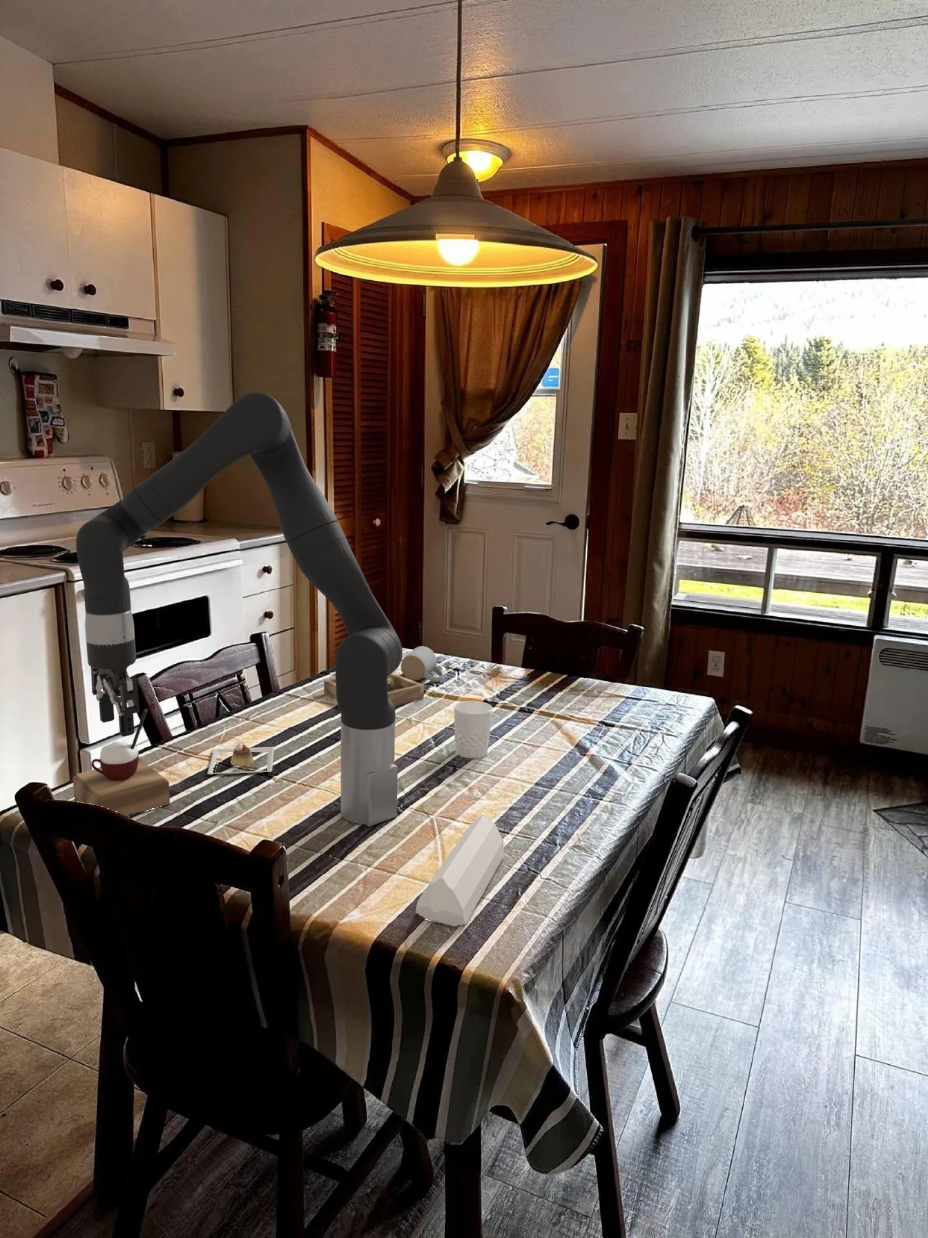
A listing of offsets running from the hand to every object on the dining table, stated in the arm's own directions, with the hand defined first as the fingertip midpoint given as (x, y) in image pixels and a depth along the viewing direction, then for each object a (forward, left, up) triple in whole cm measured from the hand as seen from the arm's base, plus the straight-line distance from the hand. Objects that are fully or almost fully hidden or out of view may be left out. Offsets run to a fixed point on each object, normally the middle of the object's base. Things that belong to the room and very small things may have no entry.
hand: (117, 728), depth 144 cm
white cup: (-22, -64, -14) cm, 69 cm away
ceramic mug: (+22, -88, -14) cm, 92 cm away
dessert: (+3, -25, -15) cm, 29 cm away
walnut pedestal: (0, 0, -14) cm, 14 cm away
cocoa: (0, 0, -9) cm, 9 cm away
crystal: (-57, -28, -15) cm, 66 cm away
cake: (+21, -72, -15) cm, 76 cm away
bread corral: (+18, -69, -14) cm, 73 cm away
